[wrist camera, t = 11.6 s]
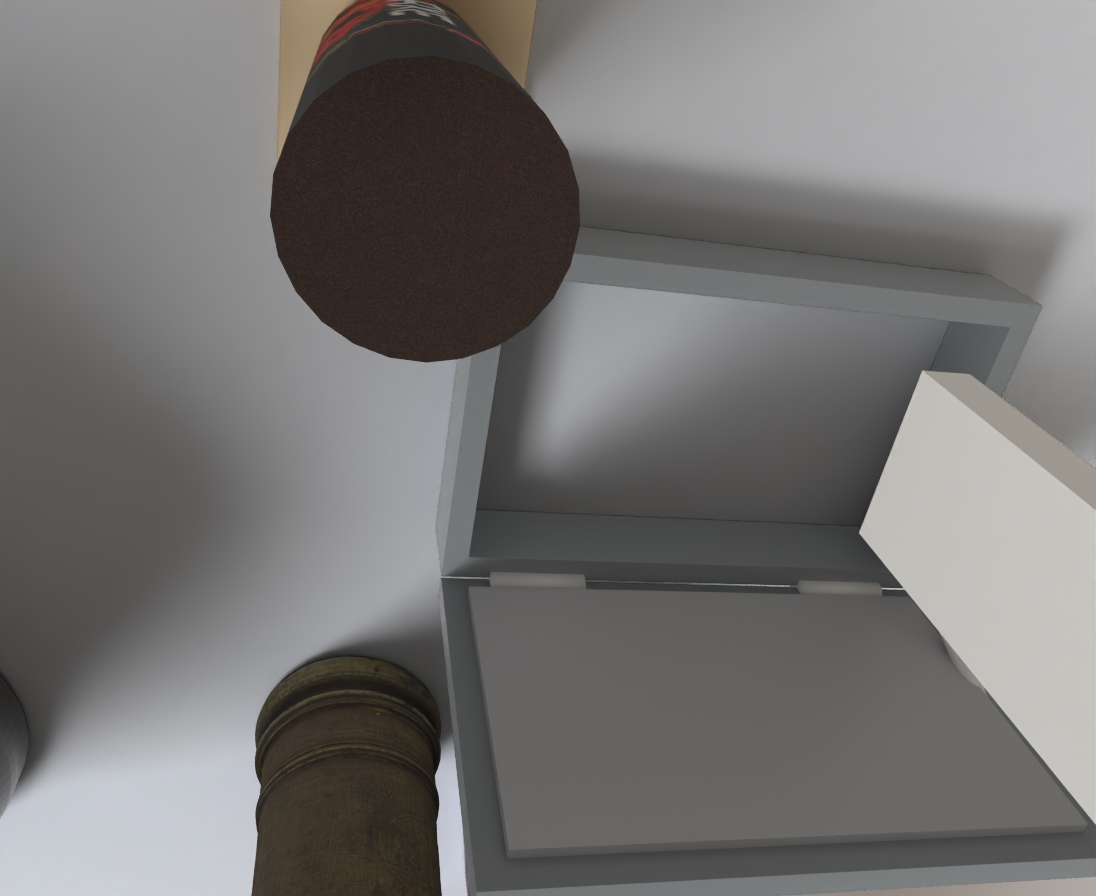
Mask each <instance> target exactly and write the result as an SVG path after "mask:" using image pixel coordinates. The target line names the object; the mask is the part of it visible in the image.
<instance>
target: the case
mask: <svg viewBox="0 0 1096 896" xmlns="http://www.w3.org/2000/svg"><path fill="white" fill-rule="evenodd" d="M563 281H571V282H580V283H590V284H600V285H609V286H619V287H628V288H638V289H647V290H657V291H667V292H676V293H686V294H695V295H705V296H714V297H724V298H734V299H743V300H753V301H762V302H772V303H782V304H791V305H801V306H810V307H820V308H829V309H839V310H849V311H858V312H868V313H877V314H887V315H896V316H906V317H916V318H925V319H935V320H944V321H950V323H949V326H948V328H947V331H946V333H945V336H944V338H943V341H942V343H941V346H940V348H939V350H938V353H937V355H936V358H935V360H934V363H933V365H932V368H931V370H930V371H935V372H948V373H961V374H970V375H972V376H973V377H974V378H976V379H977V380H978V381H980V382H981V383H982V384H984V385H985V386H986V387H988V388H989V389H990V390H992V391H993V392H994V393H996V394H997V395H998V396H1000V397H1002V394H1003V392H1004V390H1005V388H1006V386H1007V383H1008V381H1009V379H1010V377H1011V375H1012V372H1013V370H1014V368H1015V366H1016V364H1017V361H1018V359H1019V357H1020V355H1021V353H1022V350H1023V348H1024V346H1025V344H1026V342H1027V339H1028V337H1029V335H1030V333H1031V331H1032V328H1033V326H1034V324H1035V322H1036V320H1037V317H1038V315H1039V313H1040V311H1041V309H1042V305H1040V304H1038V303H1037V302H1035V301H1033V300H1032V299H1030V298H1028V297H1027V296H1025V295H1023V294H1021V293H1020V292H1018V291H1016V290H1015V289H1013V288H1011V287H1009V286H1008V285H1006V284H1004V283H1003V282H1001V281H999V280H997V279H996V278H994V277H992V276H991V275H983V274H974V273H966V272H958V271H949V270H941V269H933V268H924V267H916V266H907V265H899V264H891V263H882V262H874V261H865V260H857V259H849V258H840V257H832V256H823V255H815V254H807V253H798V252H790V251H781V250H773V249H765V248H756V247H748V246H740V245H731V244H723V243H714V242H706V241H698V240H689V239H681V238H672V237H664V236H656V235H647V234H639V233H630V232H622V231H614V230H605V229H597V228H588V227H580V229H579V233H578V238H577V242H576V246H575V250H574V254H573V258H572V262H571V266H570V268H569V270H568V272H567V273H566V275H565V277H564V279H563ZM500 349H501V344H500V345H499V346H497V347H494V348H491V349H488V350H485V351H483V352H480V353H477V354H474V355H471V356H469V357H466V358H463V359H457V366H456V374H455V382H454V389H453V397H452V405H451V413H450V420H449V428H448V436H447V443H446V451H445V459H444V467H443V474H442V482H441V490H440V498H439V505H438V513H437V521H436V534H437V542H438V551H439V560H440V569H441V576H453V577H487V579H456V578H441V582H440V590H439V597H438V598H439V607H440V617H441V626H442V636H443V645H444V654H445V664H446V673H447V683H448V692H449V702H450V711H451V720H452V730H453V739H454V749H455V758H456V768H457V777H458V787H459V796H460V805H461V815H462V824H463V834H464V843H465V853H466V862H467V872H468V881H469V890H470V896H783V895H801V894H817V893H834V892H850V891H866V890H884V889H900V888H915V887H916V888H917V887H932V886H950V885H966V884H981V883H999V882H1015V881H1032V880H1049V879H1065V878H1082V877H1096V824H1095V823H1094V822H1093V821H1092V820H1091V818H1090V817H1089V816H1088V815H1087V813H1086V812H1085V811H1084V810H1083V808H1082V807H1081V806H1080V805H1079V803H1078V802H1077V801H1076V800H1075V799H1074V797H1073V796H1072V795H1071V794H1070V792H1069V791H1068V790H1067V789H1066V787H1065V786H1064V785H1063V784H1062V783H1061V781H1060V780H1059V779H1058V778H1057V776H1056V775H1055V774H1054V773H1053V771H1052V770H1051V769H1050V768H1049V767H1048V765H1047V764H1046V763H1045V762H1044V760H1043V759H1042V758H1041V757H1040V755H1039V754H1038V753H1037V752H1036V751H1035V749H1034V748H1033V747H1032V746H1031V744H1030V743H1029V742H1028V741H1027V739H1026V738H1025V737H1024V736H1023V734H1022V733H1021V732H1020V731H1019V730H1018V728H1017V727H1016V726H1015V725H1014V723H1013V722H1012V721H1011V720H1010V718H1009V717H1008V716H1007V715H1006V714H1005V712H1004V711H1003V710H1002V709H1001V707H1000V706H999V705H998V704H997V702H996V701H995V700H994V699H993V698H992V696H991V695H990V694H989V693H988V691H987V690H986V689H985V688H984V686H983V685H982V684H981V683H980V682H979V680H978V679H977V678H976V677H975V675H974V674H973V673H972V672H971V670H970V669H969V668H968V667H967V665H966V664H965V663H964V662H963V661H962V659H961V658H960V657H959V656H958V654H957V653H956V652H955V651H954V649H953V648H952V647H951V646H950V645H949V643H948V642H947V641H946V640H945V638H944V637H943V636H942V635H941V633H940V632H939V631H938V630H937V629H936V627H935V626H934V625H933V624H932V622H931V621H930V620H929V619H928V617H927V616H926V615H925V614H924V613H923V611H922V610H921V609H920V608H919V606H918V605H917V604H916V603H915V601H914V600H913V599H912V598H911V596H910V595H909V594H908V593H907V592H906V590H886V589H882V588H903V587H902V585H901V584H900V583H899V582H898V580H897V579H896V578H895V577H894V576H893V574H892V573H891V572H890V571H889V569H888V568H887V567H886V566H885V564H884V563H883V562H882V561H881V560H880V558H879V557H878V556H877V555H876V553H875V552H874V551H873V550H872V548H871V547H870V546H869V545H868V544H867V542H866V541H865V540H864V539H863V537H862V536H861V535H860V534H859V532H860V529H861V526H842V525H819V524H796V523H773V522H749V521H726V520H703V519H680V518H657V517H634V516H611V515H588V514H565V513H542V512H519V511H496V510H476V506H477V499H478V493H479V486H480V480H481V473H482V467H483V460H484V454H485V447H486V441H487V434H488V428H489V421H490V415H491V408H492V402H493V395H494V388H495V382H496V375H497V369H498V362H499V356H500ZM585 580H607V581H645V582H684V583H722V584H760V585H790V587H769V586H729V585H690V584H651V583H612V582H586V581H585Z"/></svg>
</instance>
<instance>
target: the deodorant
mask: <svg viewBox="0 0 1096 896" xmlns="http://www.w3.org/2000/svg"><path fill="white" fill-rule="evenodd" d="M270 217H271V222H272V227H273V232H274V237H275V243H276V248H277V253H278V256H279V258H280V261H281V263H282V265H283V267H284V269H285V271H286V273H287V275H288V277H289V279H290V281H291V283H292V285H293V287H294V289H295V291H296V292H297V293H298V295H299V296H300V297H301V298H302V299H303V300H304V301H305V303H306V304H307V305H308V306H309V307H310V308H311V310H312V311H313V312H314V313H315V314H316V315H317V316H318V318H319V319H320V320H321V321H322V322H323V323H325V324H326V325H328V326H329V327H331V328H332V329H333V330H335V331H336V332H338V333H339V334H341V335H342V336H344V337H345V338H346V339H348V340H349V341H351V342H352V343H354V344H356V345H359V346H361V347H364V348H366V349H369V350H371V351H374V352H377V353H379V354H382V355H384V356H387V357H390V358H397V359H405V360H412V361H420V362H435V361H444V360H453V359H463V358H466V357H469V356H471V355H474V354H477V353H480V352H483V351H485V350H488V349H491V348H494V347H497V346H499V345H500V344H502V343H503V342H505V341H506V340H508V339H509V338H511V337H512V336H514V335H515V334H517V333H518V332H520V331H521V330H523V329H524V328H526V327H527V326H529V325H530V324H531V322H532V321H533V320H534V319H535V318H536V317H537V316H538V315H539V314H540V313H541V311H542V310H543V309H544V308H545V307H546V306H547V305H548V304H549V303H550V302H551V300H552V299H553V298H554V296H555V294H556V292H557V291H558V289H559V287H560V285H561V283H562V281H563V279H564V277H565V275H566V273H567V272H568V270H569V268H570V266H571V262H572V258H573V254H574V250H575V246H576V242H577V238H578V233H579V229H580V217H579V188H578V184H577V181H576V177H575V174H574V171H573V167H572V164H571V160H570V157H569V153H568V150H567V149H566V147H565V145H564V144H563V142H562V140H561V139H560V137H559V135H558V134H557V132H556V130H555V129H554V127H553V126H552V124H551V122H550V121H549V119H548V117H547V116H546V114H545V113H544V112H543V111H542V110H541V109H540V107H539V106H538V105H537V104H536V103H535V102H534V100H533V99H532V98H531V97H530V96H529V95H528V93H527V92H526V91H525V90H524V89H523V88H522V86H521V85H520V84H519V83H518V82H517V81H516V80H515V78H514V77H513V76H512V75H511V74H510V73H509V71H508V70H507V69H506V68H505V67H504V66H503V64H502V63H501V62H500V61H499V60H498V59H497V57H496V56H495V55H494V54H493V53H492V52H491V50H490V49H489V48H488V47H487V46H486V45H485V43H484V42H483V41H482V40H481V39H480V38H479V37H478V35H477V34H476V33H475V32H474V31H473V30H472V28H471V27H470V26H469V25H468V24H467V23H466V22H465V21H464V20H463V19H462V18H461V17H460V16H459V15H458V14H457V13H456V12H454V11H453V10H452V9H451V8H450V7H448V6H446V5H444V4H442V3H441V2H439V1H437V0H357V1H355V2H354V3H353V4H352V5H350V6H349V7H348V8H346V9H345V10H344V11H342V12H341V13H340V14H338V15H337V17H336V18H335V19H334V21H333V22H332V23H331V25H330V26H329V27H328V29H327V30H326V32H325V33H324V34H323V37H322V39H321V42H320V45H319V47H318V50H317V53H316V55H315V58H314V61H313V63H312V66H311V69H310V72H309V75H308V78H307V80H306V83H305V86H304V89H303V92H302V95H301V97H300V100H299V103H298V106H297V109H296V111H295V114H294V117H293V120H292V123H291V126H290V128H289V131H288V134H287V137H286V140H285V143H284V145H283V148H282V151H281V154H280V157H279V160H278V162H277V165H276V168H275V171H274V174H273V185H272V198H271V211H270Z"/></svg>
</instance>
